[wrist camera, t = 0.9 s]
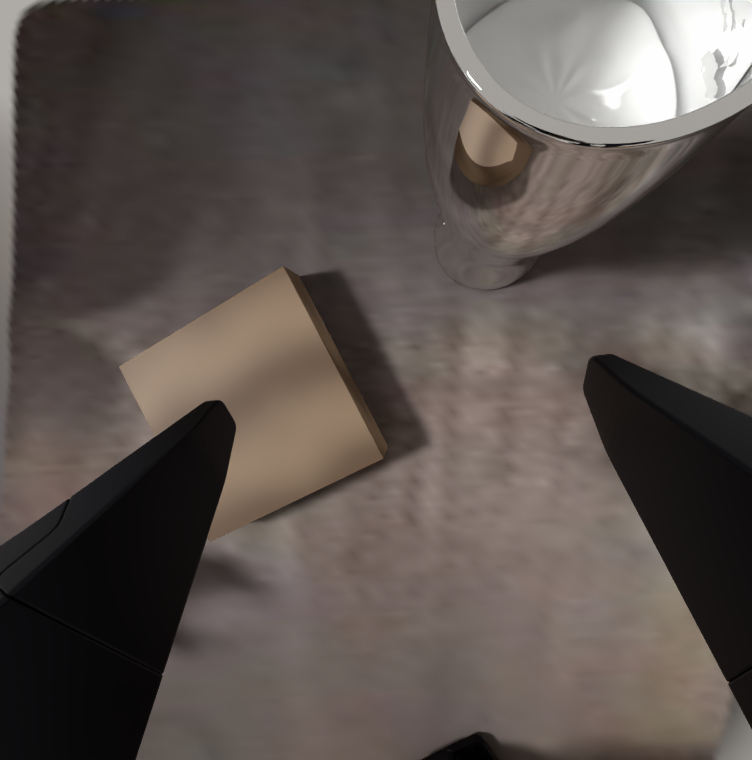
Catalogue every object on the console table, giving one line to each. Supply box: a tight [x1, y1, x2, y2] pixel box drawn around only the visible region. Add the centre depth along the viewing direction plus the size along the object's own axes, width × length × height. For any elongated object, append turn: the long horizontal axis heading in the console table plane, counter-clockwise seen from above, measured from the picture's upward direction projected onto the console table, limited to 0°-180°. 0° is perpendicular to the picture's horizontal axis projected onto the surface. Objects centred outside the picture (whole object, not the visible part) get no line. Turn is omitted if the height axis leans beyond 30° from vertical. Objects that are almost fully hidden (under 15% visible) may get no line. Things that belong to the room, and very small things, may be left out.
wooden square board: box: [119, 266, 388, 542], centre depth 22 cm, size 12×12×2 cm
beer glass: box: [423, 0, 752, 290], centre depth 13 cm, size 7×7×15 cm
